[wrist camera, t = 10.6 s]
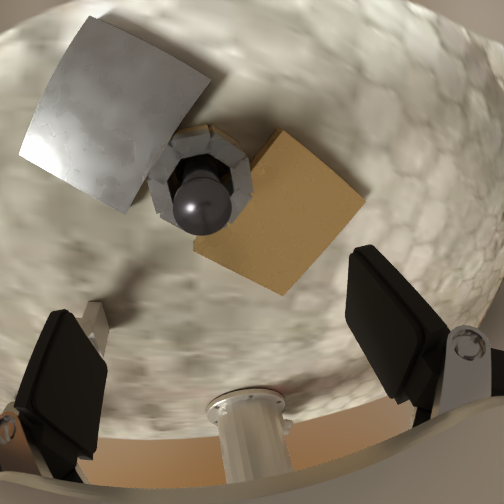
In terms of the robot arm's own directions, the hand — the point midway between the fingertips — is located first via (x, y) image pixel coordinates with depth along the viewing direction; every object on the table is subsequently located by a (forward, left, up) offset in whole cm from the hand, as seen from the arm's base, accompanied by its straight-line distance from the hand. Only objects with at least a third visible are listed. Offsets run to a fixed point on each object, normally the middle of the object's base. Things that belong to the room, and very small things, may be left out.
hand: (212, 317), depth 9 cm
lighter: (+2, +18, -16) cm, 24 cm away
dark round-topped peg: (0, 0, -16) cm, 16 cm away
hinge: (0, 0, -16) cm, 16 cm away
